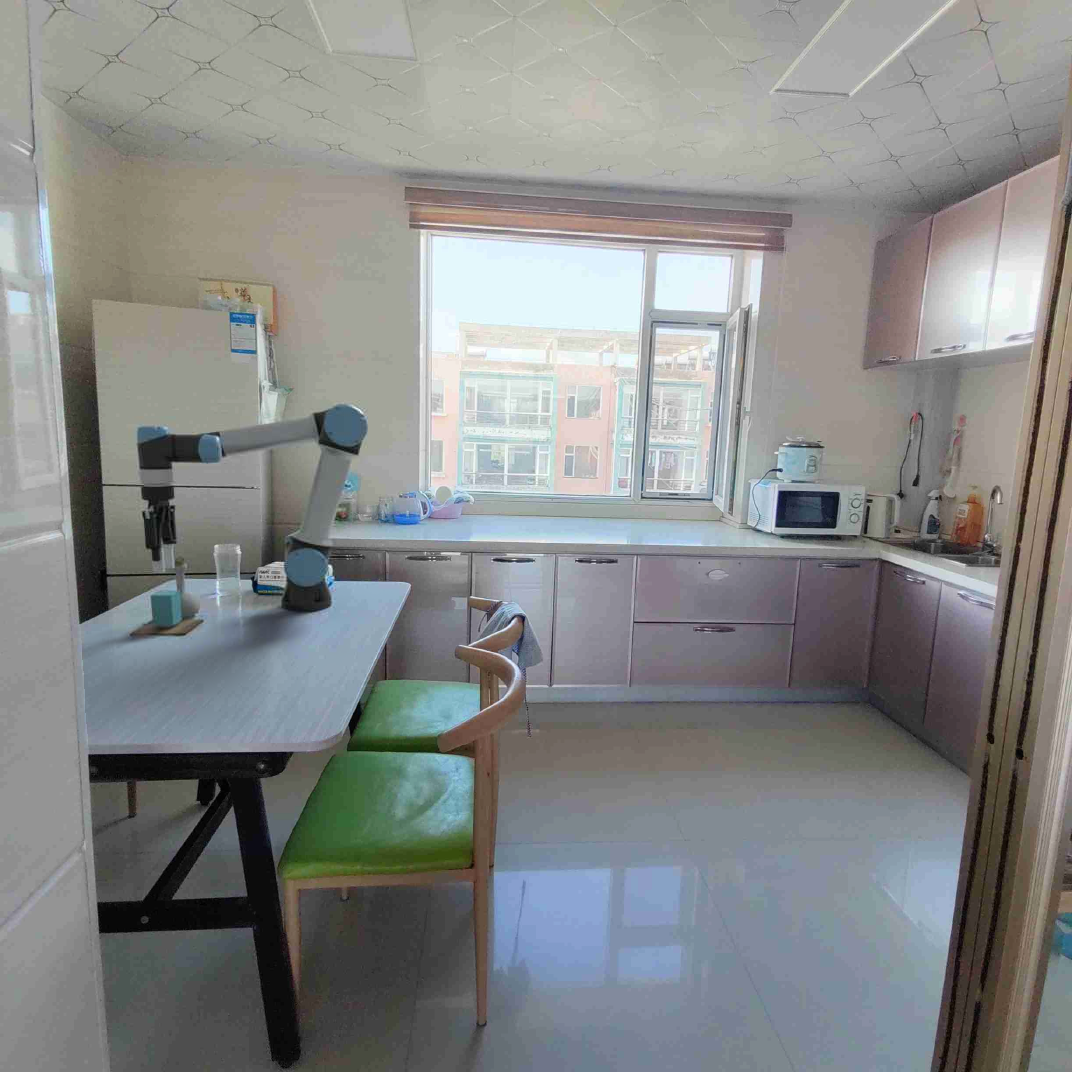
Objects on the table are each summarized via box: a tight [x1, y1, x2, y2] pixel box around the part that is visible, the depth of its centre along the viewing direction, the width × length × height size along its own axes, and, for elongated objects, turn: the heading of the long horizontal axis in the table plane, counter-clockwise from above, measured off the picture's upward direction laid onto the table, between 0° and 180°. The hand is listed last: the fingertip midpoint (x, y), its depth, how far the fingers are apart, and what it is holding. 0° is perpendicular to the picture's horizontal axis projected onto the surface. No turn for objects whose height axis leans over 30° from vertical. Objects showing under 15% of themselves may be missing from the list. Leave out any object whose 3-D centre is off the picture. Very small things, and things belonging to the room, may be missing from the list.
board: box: [129, 618, 205, 637], centre depth 170 cm, size 14×12×1 cm
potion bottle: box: [172, 556, 201, 620], centre depth 179 cm, size 9×9×18 cm
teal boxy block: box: [150, 589, 182, 626], centre depth 170 cm, size 5×5×9 cm
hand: (163, 569), depth 168 cm, fingers open, 5 cm apart
